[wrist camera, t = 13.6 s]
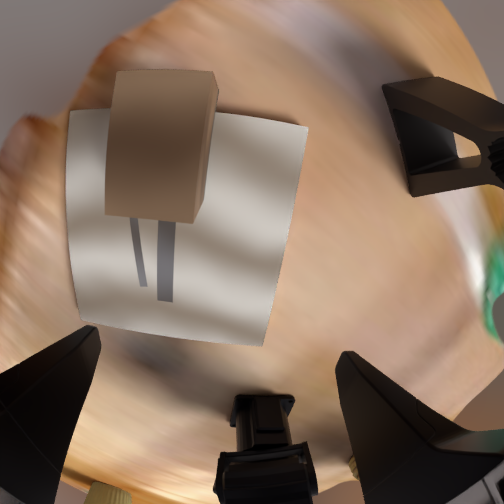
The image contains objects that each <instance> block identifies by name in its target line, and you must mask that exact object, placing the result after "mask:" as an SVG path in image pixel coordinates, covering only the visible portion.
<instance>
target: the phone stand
mask: <svg viewBox="0 0 504 504" xmlns="http://www.w3.org/2000/svg"><path fill="white" fill-rule="evenodd" d="M382 89H383V92H384V95H385V98H386V101H387V104H388V107H389V110H390V113H391V116H392V120H393V123H394V127H395V130H396V134H397V137H398V140H399V141H400V144H399V145H400V149H401V153H402V157H403V161H404V166H405V170H406V175H407V180H408V185H409V190H410V194H411V196H412V197H419V196H424V195H429V194H435V193H440V192H445V191H451V190H456V189H462V188H467V187H473V186H479V185H485V184H490V185H495V186H498V187H500V188H502V189H504V104H502V103H500V102H498V101H496V100H494V99H492V98H490V97H488V96H486V95H483V94H481V93H479V92H477V91H474V90H472V89H470V88H467V87H465V86H462V85H460V84H457V83H455V82H452V81H449V80H447V79H444V78H441V77H430V78H421V79H414V80H407V81H401V82H395V83H389V84H384V85H382ZM453 132H455V133H457V134H459V135H461V136H463V137H465V138H467V139H469V140H471V141H473V142H474V143H475V144H476V145H477V146H478V148H479V150H480V153H481V155H477V156H471V157H465V158H459V157H458V155H457V150H456V144H455V139H454V134H453Z"/></svg>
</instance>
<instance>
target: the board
mask: <svg viewBox="0 0 504 504" xmlns="http://www.w3.org/2000/svg"><path fill="white" fill-rule="evenodd" d="M110 112H111V108H103V109H86V110H73V111H70V118H69V128H68V139H67V155H66V214H67V230H68V242H69V252H70V260H71V268H72V275H73V281H74V287H75V293H76V298H77V304H78V309H79V313H80V318H81V320H83V321H87V322H92V323H96V324H101V325H106V326H110V327H115V328H121V329H126V330H131V331H137V332H142V333H148V334H155V335H161V336H168V337H174V338H182V339H189V340H198V341H206V342H215V343H225V344H237V345H249V346H263V342H264V338H265V334H266V330H267V326H268V321H269V317H270V313H271V309H272V304H273V300H274V296H275V291H276V287H277V283H278V278H279V274H280V269H281V265H282V260H283V256H284V251H285V246H286V242H287V237H288V232H289V227H290V223H291V218H292V213H293V208H294V203H295V198H296V193H297V188H298V183H299V177H300V172H301V167H302V161H303V156H304V151H305V145H306V140H307V134H308V128H309V127H304V126H300V125H295V124H290V123H285V122H280V121H274V120H268V119H263V118H256V117H250V116H243V115H236V114H228V113H219V112H215V119H214V125H213V132H212V139H211V146H210V154H209V161H208V169H207V177H206V186H205V195H204V201H203V203H202V205H201V207H200V210H199V212H198V214H197V216H196V218H195V221H194V223H193V224H188V223H179V222H169V221H160V220H150V219H140V218H130V217H120V216H109V215H105V167H106V151H107V139H108V129H109V120H110Z"/></svg>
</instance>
